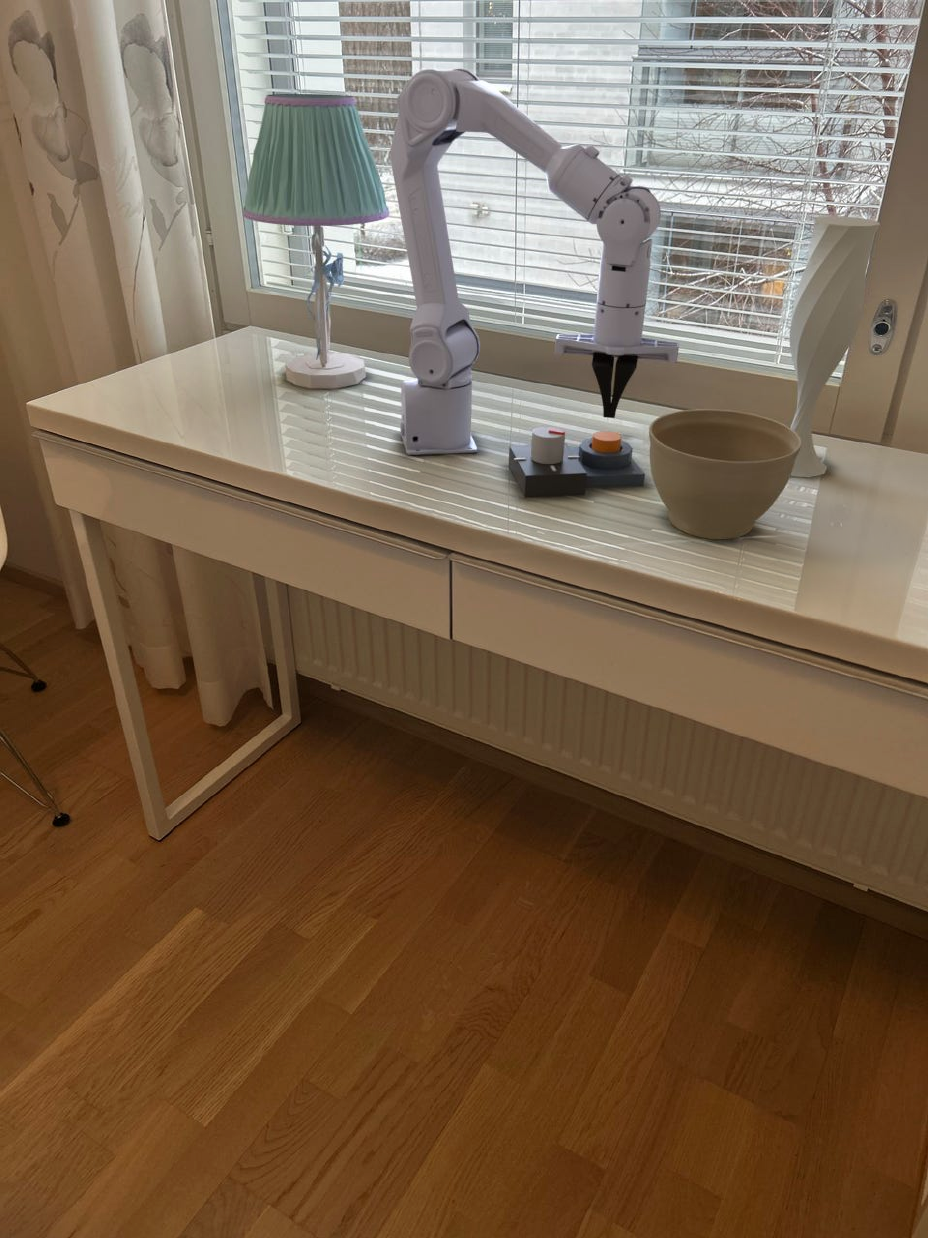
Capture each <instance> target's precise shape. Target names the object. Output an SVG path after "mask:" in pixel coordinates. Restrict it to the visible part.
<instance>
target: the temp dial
mask: <svg viewBox="0 0 928 1238" xmlns="http://www.w3.org/2000/svg"><path fill="white" fill-rule="evenodd" d="M565 440H566V430H564V429H562V428H559V427H556V426H538V427H536V428H534V429H532V432H531V445H532V446H531V459H532V460H533V461H535V462H537V463H541V464H556V463H560V462H561V461H562V460H563V455H564V443H566V441H565Z"/></svg>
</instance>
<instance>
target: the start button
mask: <svg viewBox="0 0 928 1238" xmlns="http://www.w3.org/2000/svg"><path fill="white" fill-rule="evenodd" d="M591 438H592V449H593V450H595V451H597V452H603V453H615V452H619V451H620V446H621V441H622V435H621V434H620V433H618V432H614V431H609V430H601V431H596V432H593V434H592V437H591Z"/></svg>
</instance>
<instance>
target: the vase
mask: <svg viewBox="0 0 928 1238" xmlns="http://www.w3.org/2000/svg"><path fill="white" fill-rule="evenodd" d="M812 220H813V228H812V234H811V238H810V243H809V249H808V255H807V256H808V257H807V260H806V266H805V268H804V270H803V273H802V275H801V278H800V281H799V283H798V286H797V288H796V292H795V296H794V300H793V304H792V309H791V320H790V327H789V349H790V354H791V359H792V364H793V369H794V372H795V377H796V381H797V402H796V409H795V414H794V417H793V418H792V422H791V424H790V427H789V428H791V429H792V430H793V431H795V432H796V433H797V434H798V435H799V437H800V439H801V448H800V451H799V453H798V455H797V457H796V458H795V462H794V466H793V469H792V472H791V475H790V477H796V478H797V477H798V478H799V477H800V478H812V477H817V476H821V475H825V474H826V472H827V469H828V466H827V465H826V464H825V463H823V462H822V461H821V460H820V458H819V457H818V455H817V453H816V449H815V446H814V439H813V431H812V425H813V418H814V417H813V416H814V410H815V407H816V405H817V403H818V402H817V401H818V400H819V397H820V395H821V392H822V391H823V389H824V387H825V386H826V384H827V383H828V381H829V379H830V378H831V377H832V375H833V374H834V373H835V370H836V369H837V368H838V366H839V365H840V363H841V361H842V360H843V358H844V357H845V355H846V353H847V351H848V349H849V348H850V346H851V345H852V343H853V340H854V338H855V335H856V333H857V330H858V328H859V325H860V321H861V318H862V313H863V309H864V304H865V296H866V295H865V294H866V286H867V285H866V284H867V283H866V282H867V269H868V265H869V261H870V257H871V252H872V246H873V243H874V238H875V235H876V233H877V231H878V230H879V227H880V226H881V223H880V222H879V221H877V220H872V219H869V218H862V217H854V216H843V215H841V216H839V215H825V216H824V215H821V216H816V217H812Z"/></svg>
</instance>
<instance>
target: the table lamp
mask: <svg viewBox="0 0 928 1238" xmlns="http://www.w3.org/2000/svg"><path fill="white" fill-rule="evenodd" d="M356 105H357V102H356V99H355V98H354V96H352V95H345V94H327V93H326V94H325V93H323V94H322V93H321V94H320V93H275V94H274V93H273V94H272V93H271V94H267V95H266V97H265V98H264V108H263V113H262V118H261V123H260V128H259V132H258V137H257V141H256V143H255V147H254V150H253V153H252V163H251V166H250V171H249V175H248V179H247V186H246V193H245V202H244V206H243V209H242V215H243V217H244V218H246V219H247V220H251V221H253V222H258V223H265V224H271V225H279V226H280V225H281V226H294V227H295V226H296V227H298V226H299V227H313V234H312V235H311V244H310V245H311V250H312V255H313V257H314V259H315V263H314V269H313V271H314V274H313V285H312V286H311V292H310V293H309V294H308V296H307V299H306V305H307V310H308V315H309V316H310V317H312V320H313V322H314V329H315V331H314V332H315V341H316V349H317V353H310V354H309V353H308V354H304V355H296V356H295V357H294V358H292V359H291V360H289V361H288V362H286V363H285V364H284V368H285V376H286V381H287V382H289V383H291V384H293V385H294V386H298V387H301V388H302V387H304V388H306V389H330V390H331V389H341V388H345V387H349V386H355V385H358V384H359V383H361V382H362V381H363V380H364V379H365V378H366V377H367V374H366V366H365V360H364V359H362V358H359V357H357V356H354V355H351V354H349V353H334V352H333V353H332V352H330V348H331V326H332V325H331V324H332V322H331V319H332V318H331V298H332V290H333V288H334V286H335V283H336V285H337V288H340V287H342V286H343V285H344V284H345V277H344V254H343V253H342V252H336V259H334V260H333V261H332V262H330V263H329V261H330V260H331V258H332V251H330V249H329V247H328V246H326V245H325V234H324V233H325V231H324V227H334V226H335V227H336V226H352V225H360V224H361V225H362V224H369V223H373V222H378V221H382V220H385V219H387V218H389V216H390V209H389V207H388V205H387V201H386V194H385V190H384V187H383V183H382V180H381V177H380V174H379V170H378V168H377V164H376V161H375V160H376V159H375V157H374V154H373V152H372V149H371V147H370V144H369V142H368V140H367V137H366V135H365V132H364V131H365V130H364V128H363V124H362V120H361V117H360V113H359V111H358V108H356ZM323 247H325V249H326V250H327V252H326V251H325V250H323ZM324 256H325V259H324ZM327 281H328V282H327ZM328 283H329V288H328ZM313 295H314V314H313V312H312V311H311V307H310V306H311V304H310V303H311V301H310V300H311V298H312V296H313Z"/></svg>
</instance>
